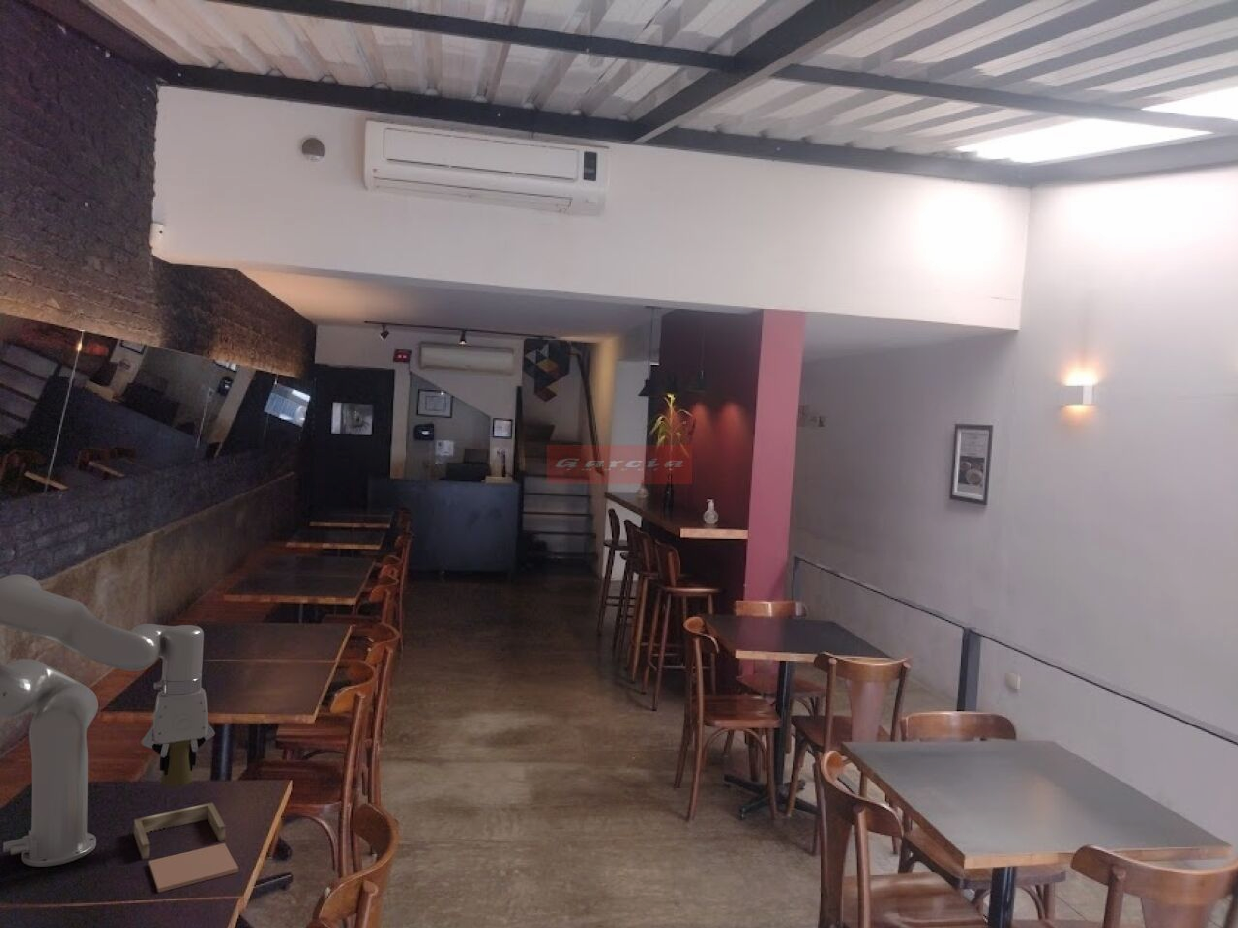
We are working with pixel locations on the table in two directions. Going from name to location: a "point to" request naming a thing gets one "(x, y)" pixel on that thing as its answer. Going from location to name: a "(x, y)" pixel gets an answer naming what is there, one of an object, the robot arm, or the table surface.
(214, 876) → the tile
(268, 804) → the table surface
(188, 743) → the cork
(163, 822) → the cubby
